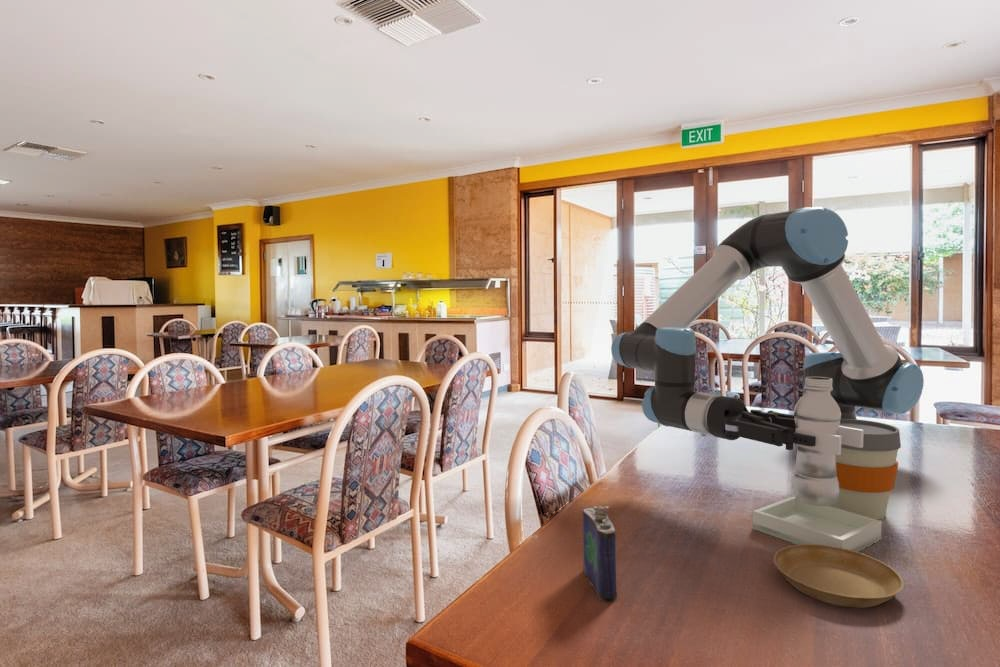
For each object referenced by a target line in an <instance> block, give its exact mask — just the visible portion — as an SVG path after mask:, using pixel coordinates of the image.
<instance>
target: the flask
mask: <svg viewBox="0 0 1000 667" xmlns="http://www.w3.org/2000/svg"><path fill="white" fill-rule="evenodd" d="M608 509H609V506H607V505H604V506H596V505H594V506H593V507H590V508H589V507H588V508H584V509H583V510H582V547H583V548H582V571H583V574H584V575H583V576H584V577H586V578H587V580H588V584H589V585H590V586H591V587H593V590H594V591H595V592H596V595H597V597H598V600H600V601H602V602H604V603H614V602H616V601H617V599H618V598H617V597H618V592H617V555H616V554H617V552H616V550H617V547H616V545H617V544H616V541H617V540H616V539H617V535H616V534H617V532H616V529H615V526H614V524H613V522H612V521H611V519H610V518H609V516H608V513H606V512H605V510H608Z"/></svg>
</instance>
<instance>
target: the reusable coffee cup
mask: <svg viewBox="0 0 1000 667" xmlns="http://www.w3.org/2000/svg"><path fill="white" fill-rule="evenodd" d="M839 426H844V427H850V428H856V429H861V430H864V436H863V447H862V448H858V447H853V446H848V445H843V444H841V454H840V455H836V469H837V477H838V482H839V490H840V492H839V496H838V500H837V501H836V502H835V503H834V504H833V505H831V507H834V508H838V509H841V510H845V511H848V512H851V513H855V514H858V515H862V516H865V517H869V518H872V519H876V520H877V519H879V520H882V519H884V518H885V517H886V515H887V510H888V506H889V505H888V504H889V499H890V494H891V491H893V490H894V488H895V485H896V478H897V473H898V467H899V461H897V456H898V451H899V449H901V448H902V446H901V445H902V444H901V434H900V433H901V432H900V429H899V428H898V427H896V426H894V425H892V424H888V423H884V422H880V421H879V422H878V421H873V420H866V419H841V420H840V425H839Z"/></svg>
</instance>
